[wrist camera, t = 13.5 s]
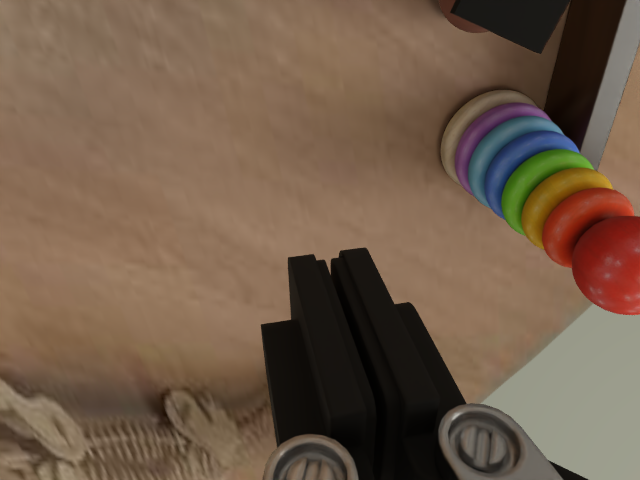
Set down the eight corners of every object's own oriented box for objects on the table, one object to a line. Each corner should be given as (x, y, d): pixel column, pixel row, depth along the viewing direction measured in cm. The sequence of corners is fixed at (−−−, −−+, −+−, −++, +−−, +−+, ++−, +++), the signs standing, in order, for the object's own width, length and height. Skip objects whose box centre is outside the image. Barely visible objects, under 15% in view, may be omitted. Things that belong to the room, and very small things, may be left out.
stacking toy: (465, 73, 35) (667, 202, 20) (552, 101, 38) (788, 234, 23) (420, 172, 39) (561, 343, 24) (502, 191, 42) (676, 356, 27)
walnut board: (520, 203, 43) (554, 234, 39) (618, -191, 28) (688, -206, 24) (541, 200, 43) (577, 231, 39) (648, -191, 29) (723, -206, 25)
